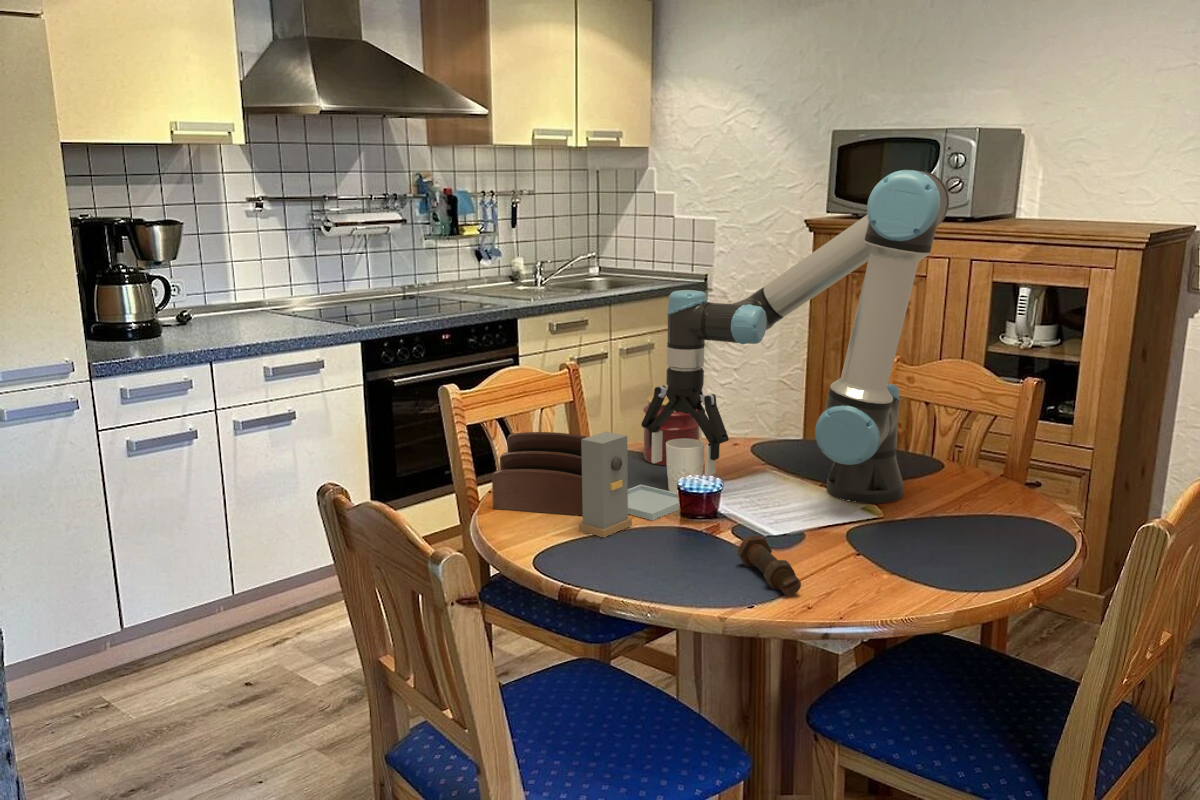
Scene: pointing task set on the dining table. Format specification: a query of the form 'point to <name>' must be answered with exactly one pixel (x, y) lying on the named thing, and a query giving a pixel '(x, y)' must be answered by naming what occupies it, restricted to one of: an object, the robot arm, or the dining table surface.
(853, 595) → the dining table surface
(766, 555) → the bolt
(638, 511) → the tray
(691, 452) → the white cup
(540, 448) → the letter holder
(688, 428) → the canister
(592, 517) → the control box
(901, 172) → the robot arm
